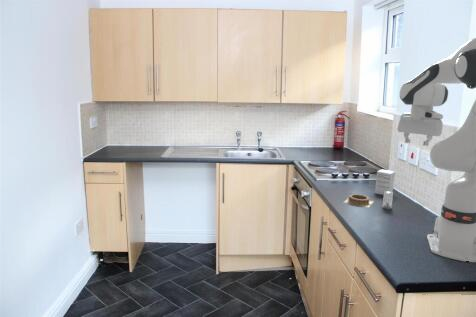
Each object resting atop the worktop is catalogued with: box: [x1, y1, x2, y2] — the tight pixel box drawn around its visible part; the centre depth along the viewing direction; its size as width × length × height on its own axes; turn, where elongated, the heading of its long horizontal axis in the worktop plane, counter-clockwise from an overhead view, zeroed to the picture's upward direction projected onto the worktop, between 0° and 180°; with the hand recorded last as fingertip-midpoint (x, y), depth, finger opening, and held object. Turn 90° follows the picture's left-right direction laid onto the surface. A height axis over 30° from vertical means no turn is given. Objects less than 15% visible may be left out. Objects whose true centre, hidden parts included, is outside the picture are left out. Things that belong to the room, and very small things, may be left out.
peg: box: [382, 191, 394, 210], centre depth 177 cm, size 4×4×8 cm
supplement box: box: [374, 169, 396, 196], centre depth 201 cm, size 7×7×13 cm
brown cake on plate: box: [342, 193, 374, 208], centre depth 184 cm, size 12×12×4 cm
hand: (416, 144), depth 172 cm, fingers open, 8 cm apart
